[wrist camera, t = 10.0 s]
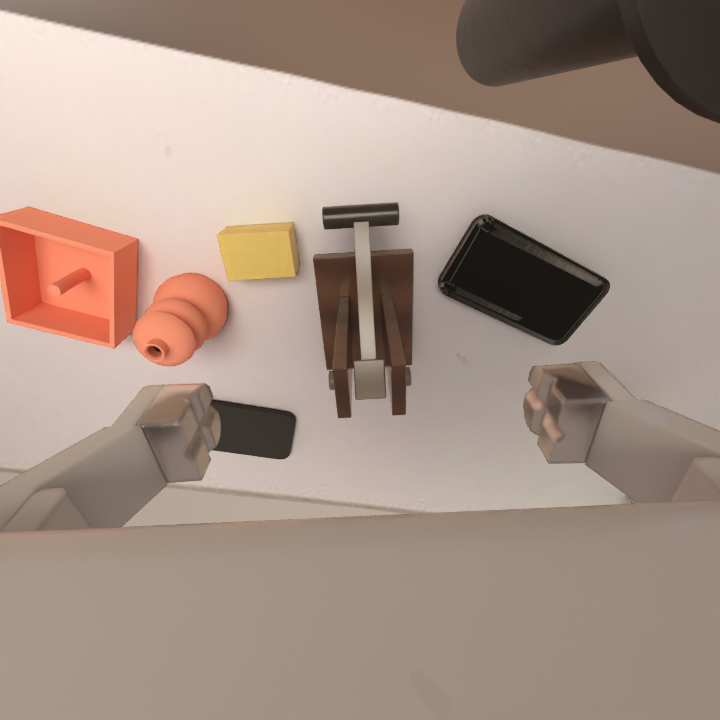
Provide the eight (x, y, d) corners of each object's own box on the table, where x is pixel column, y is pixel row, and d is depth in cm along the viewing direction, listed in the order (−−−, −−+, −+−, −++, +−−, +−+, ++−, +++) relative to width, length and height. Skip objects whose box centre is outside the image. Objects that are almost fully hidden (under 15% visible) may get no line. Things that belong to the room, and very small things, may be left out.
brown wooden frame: (314, 254, 36) (294, 320, 25) (411, 248, 36) (438, 311, 24) (327, 363, 43) (317, 457, 31) (410, 358, 42) (431, 451, 31)
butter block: (226, 226, 35) (216, 234, 32) (293, 222, 35) (288, 230, 32) (236, 269, 37) (227, 281, 34) (299, 265, 37) (295, 276, 34)
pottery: (39, 303, 39) (-48, 354, 30) (28, 206, 34) (-80, 235, 25) (224, 350, 42) (190, 409, 33) (237, 268, 37) (202, 312, 29)
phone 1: (288, 461, 49) (164, 444, 47) (289, 456, 50) (166, 439, 48) (296, 416, 45) (161, 395, 43) (297, 412, 46) (164, 391, 44)
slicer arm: (324, 213, 30) (320, 201, 28) (396, 208, 30) (398, 196, 28) (335, 397, 30) (332, 401, 28) (406, 393, 30) (409, 397, 28)
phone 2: (483, 212, 33) (615, 284, 37) (479, 209, 34) (608, 279, 38) (434, 291, 37) (559, 349, 40) (432, 287, 38) (554, 344, 41)
